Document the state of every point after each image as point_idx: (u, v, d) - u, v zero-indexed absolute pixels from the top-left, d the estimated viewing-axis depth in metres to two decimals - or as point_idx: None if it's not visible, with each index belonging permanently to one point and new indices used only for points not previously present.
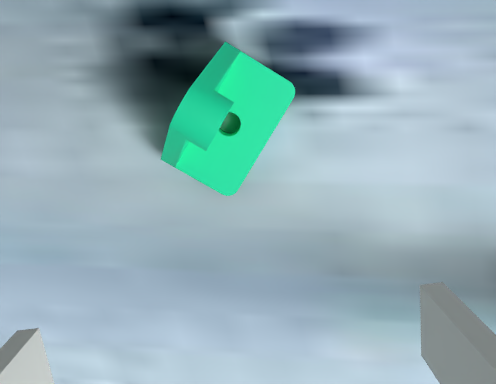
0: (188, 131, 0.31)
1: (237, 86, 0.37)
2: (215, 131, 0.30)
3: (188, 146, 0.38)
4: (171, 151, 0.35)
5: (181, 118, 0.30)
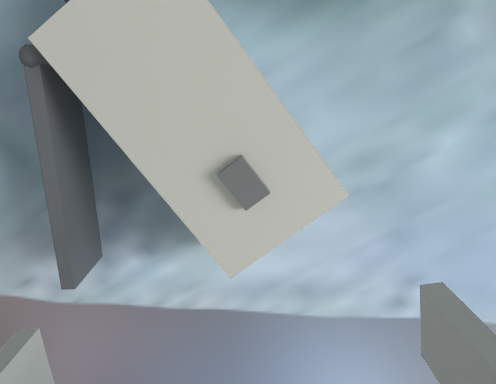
0: None
1: None
2: None
3: None
4: None
5: None
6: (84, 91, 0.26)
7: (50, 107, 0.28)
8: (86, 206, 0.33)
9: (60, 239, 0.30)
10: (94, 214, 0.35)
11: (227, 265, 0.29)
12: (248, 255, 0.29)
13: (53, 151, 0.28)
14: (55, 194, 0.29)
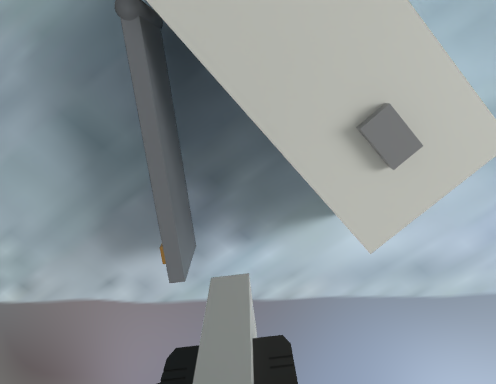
0: None
1: None
2: None
3: None
4: None
5: None
6: (197, 41, 0.22)
7: (150, 68, 0.24)
8: (181, 188, 0.29)
9: (167, 223, 0.25)
10: (187, 198, 0.31)
11: (367, 238, 0.25)
12: (391, 224, 0.24)
13: (157, 119, 0.24)
14: (160, 171, 0.25)
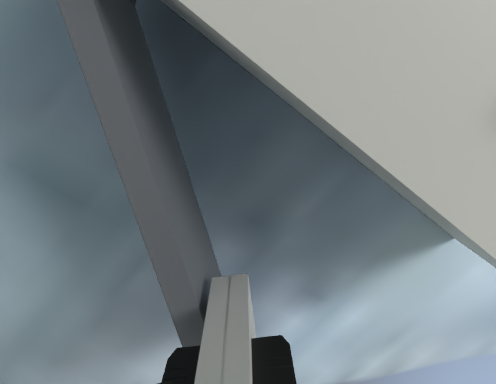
0: None
1: None
2: None
3: None
4: None
5: None
6: None
7: (121, 65, 0.13)
8: (205, 252, 0.18)
9: (193, 331, 0.15)
10: (215, 262, 0.20)
11: None
12: None
13: (147, 156, 0.13)
14: (167, 245, 0.14)
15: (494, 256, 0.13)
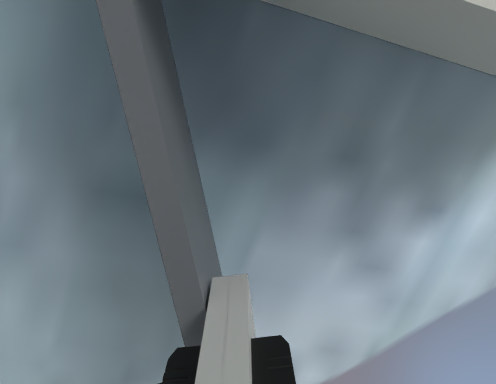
0: None
1: None
2: None
3: None
4: None
5: None
6: None
7: (148, 54, 0.13)
8: (210, 249, 0.18)
9: (196, 328, 0.14)
10: (217, 260, 0.20)
11: None
12: None
13: (167, 148, 0.13)
14: (179, 239, 0.14)
15: None
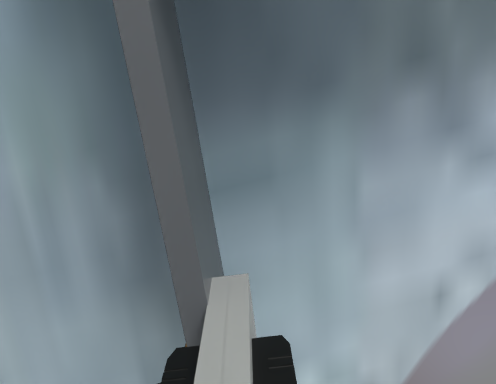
0: None
1: None
2: None
3: None
4: None
5: None
6: None
7: (162, 51, 0.13)
8: (213, 249, 0.18)
9: (198, 327, 0.14)
10: (219, 260, 0.20)
11: None
12: None
13: (177, 146, 0.13)
14: (185, 238, 0.14)
15: None
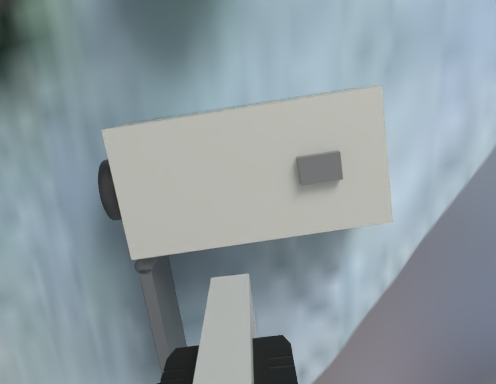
0: None
1: None
2: None
3: None
4: None
5: None
6: (186, 244, 0.32)
7: (159, 298, 0.34)
8: None
9: None
10: None
11: (380, 218, 0.31)
12: (382, 197, 0.31)
13: (165, 333, 0.34)
14: None
15: (340, 228, 0.31)
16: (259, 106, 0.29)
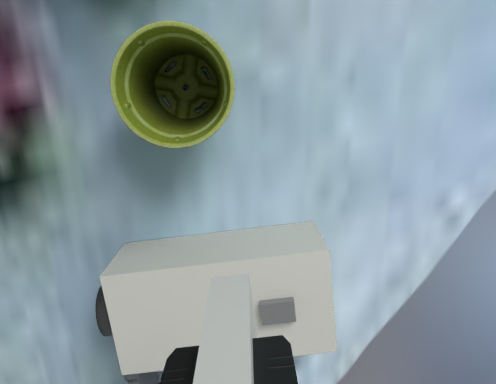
0: None
1: None
2: None
3: None
4: None
5: None
6: None
7: None
8: None
9: None
10: None
11: (326, 348, 0.38)
12: (328, 332, 0.38)
13: None
14: None
15: (294, 355, 0.38)
16: (229, 262, 0.36)
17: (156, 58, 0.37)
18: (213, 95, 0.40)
